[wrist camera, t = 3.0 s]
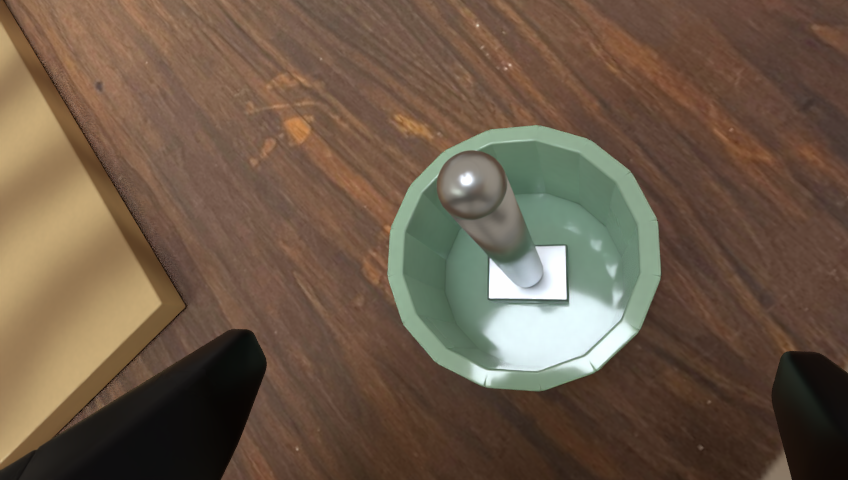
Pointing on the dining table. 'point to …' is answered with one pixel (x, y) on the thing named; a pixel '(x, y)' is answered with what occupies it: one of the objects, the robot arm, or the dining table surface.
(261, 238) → the dining table surface
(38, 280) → the board
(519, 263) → the metal joystick
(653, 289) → the cup
